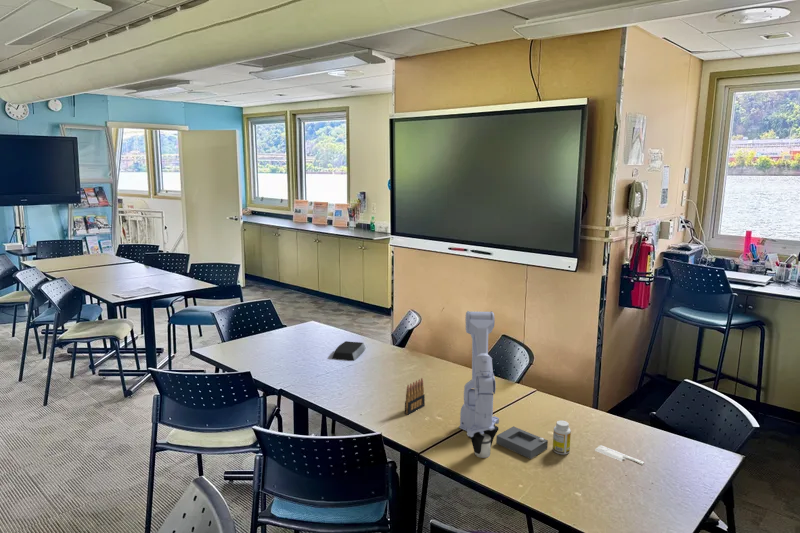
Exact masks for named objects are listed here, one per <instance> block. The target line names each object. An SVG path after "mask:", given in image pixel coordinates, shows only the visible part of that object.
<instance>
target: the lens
mask: <svg viewBox="0 0 800 533" xmlns="http://www.w3.org/2000/svg"><path fill="white" fill-rule="evenodd" d="M481 435H482V436H484V439H483V441H482V445H481V452H480V454H478V453H476V452H474V455H475V456H476V457H477V458H481V459H486V458H489V457H490V456H491V448H492V445H491V437H490V436H489V435H487V434H482V433H481Z"/></svg>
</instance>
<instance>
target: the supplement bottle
mask: <svg viewBox="0 0 800 533" xmlns="http://www.w3.org/2000/svg"><path fill="white" fill-rule="evenodd" d="M569 424H570V423H569V422H568V421H565V420H557V421H556V424H555V426H554V427H553V436H552V450H553V453H555V454H558V455H567V454H569V453H570V450H571V436H572V435H571V434H572V433H571V432H572V431H571V428H570V425H569Z"/></svg>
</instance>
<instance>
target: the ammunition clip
mask: <svg viewBox="0 0 800 533" xmlns="http://www.w3.org/2000/svg"><path fill="white" fill-rule="evenodd" d="M424 393H425V388H424V379H423V377H421V378H420V379H418V380H416V381H413V382H412V383H410V384H407V386H406V392H405V401H404V415H406V416H409V414H410V415H412V414H413V413H415V412H416V410H417V411H418V409H419V410H420V409H422V408H424V407H425V406H426V405H425V404H426V403H425V401H426V400H425V394H424Z"/></svg>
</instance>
